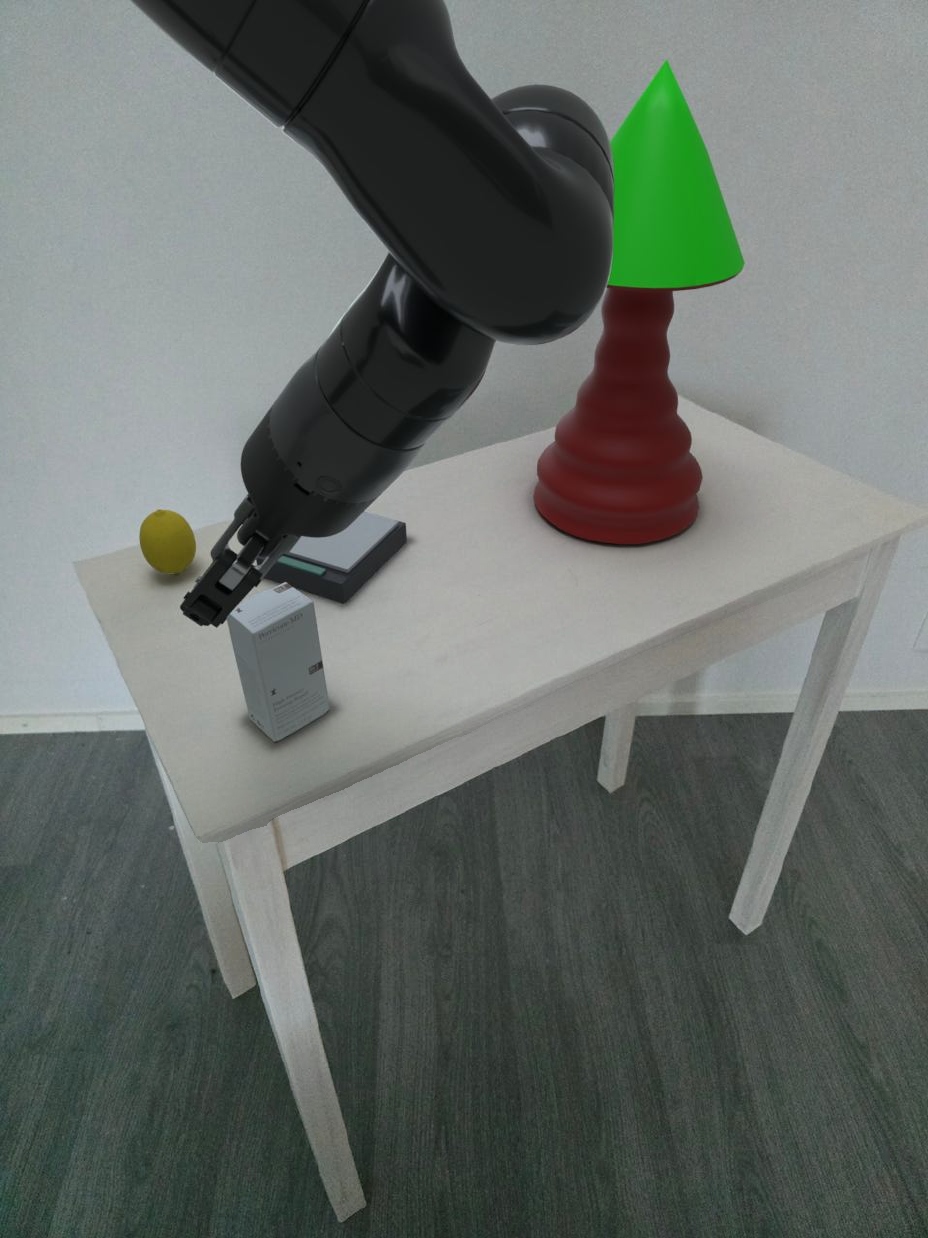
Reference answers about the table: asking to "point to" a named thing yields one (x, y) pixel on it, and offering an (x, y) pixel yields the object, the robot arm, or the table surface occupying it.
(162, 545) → the lemon
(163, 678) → the table surface
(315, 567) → the scale
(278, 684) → the cosmetic box
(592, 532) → the table lamp
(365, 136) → the robot arm
